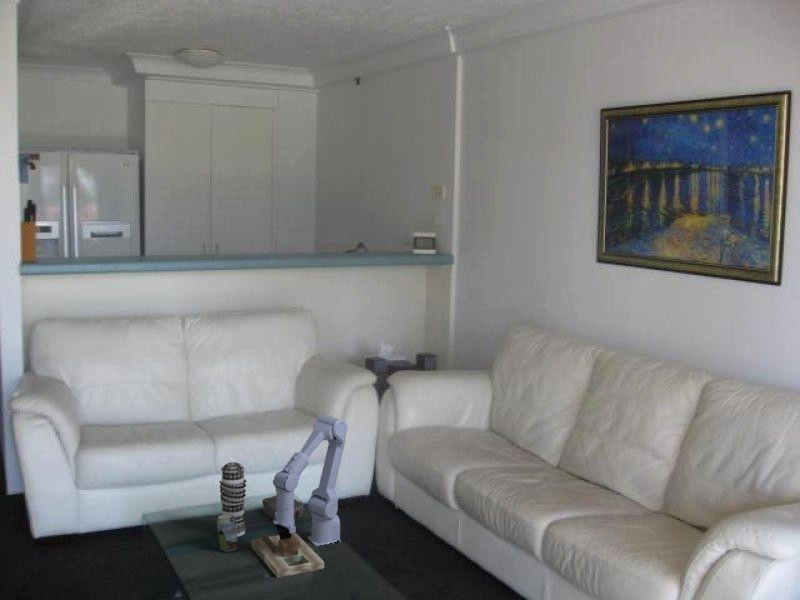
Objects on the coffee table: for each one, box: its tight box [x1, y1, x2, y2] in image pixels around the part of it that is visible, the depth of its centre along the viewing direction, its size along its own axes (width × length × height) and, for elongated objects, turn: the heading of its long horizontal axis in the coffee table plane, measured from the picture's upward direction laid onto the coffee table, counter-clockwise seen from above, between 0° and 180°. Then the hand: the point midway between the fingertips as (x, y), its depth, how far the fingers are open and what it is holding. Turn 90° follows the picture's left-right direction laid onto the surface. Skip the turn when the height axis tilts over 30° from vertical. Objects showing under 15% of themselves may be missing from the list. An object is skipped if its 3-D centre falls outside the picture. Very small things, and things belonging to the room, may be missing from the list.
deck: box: [250, 532, 325, 579], centre depth 322 cm, size 16×26×4 cm, turn 27°
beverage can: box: [216, 514, 239, 552], centre depth 326 cm, size 6×7×12 cm
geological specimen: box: [262, 494, 304, 521], centre depth 359 cm, size 11×6×15 cm
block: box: [279, 538, 298, 557], centre depth 320 cm, size 5×5×4 cm
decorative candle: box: [219, 461, 247, 538], centre depth 339 cm, size 9×9×25 cm
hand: (284, 545), depth 323 cm, fingers closed
